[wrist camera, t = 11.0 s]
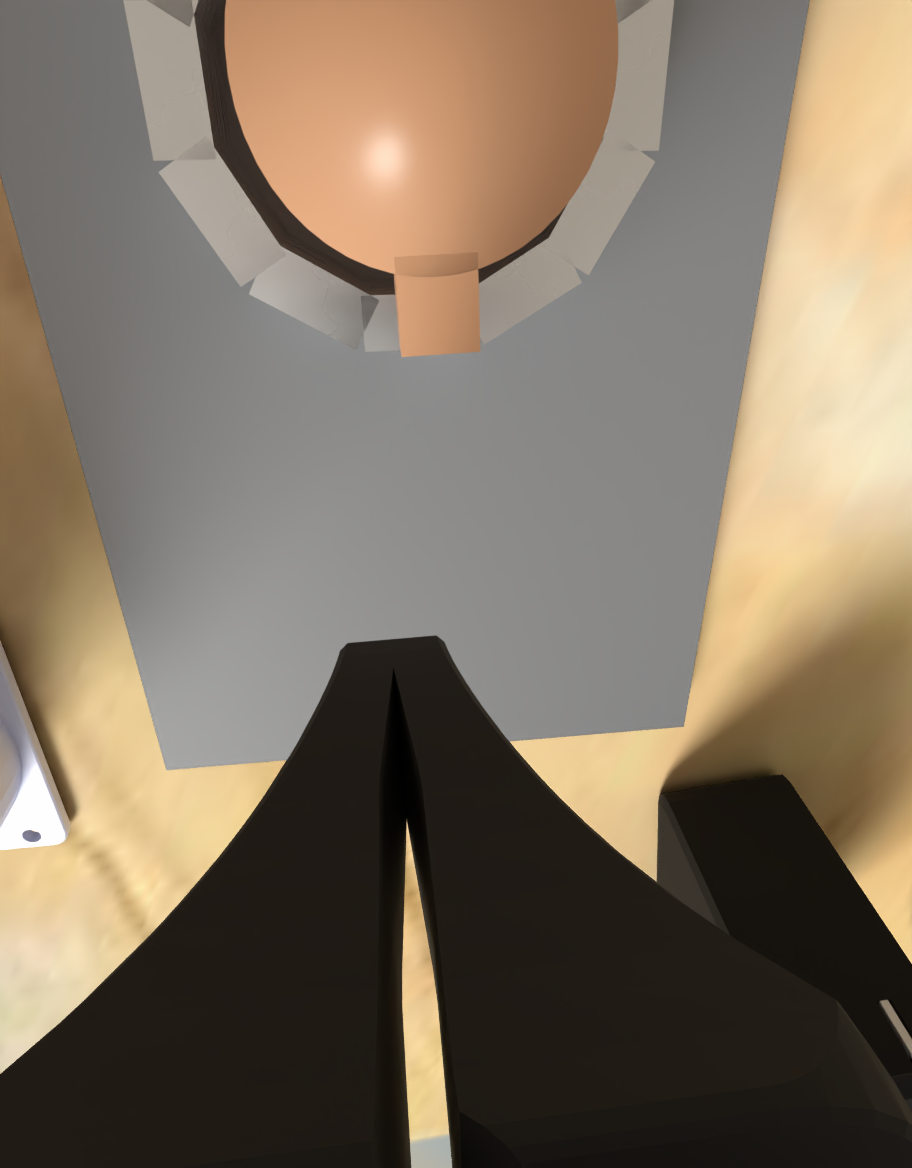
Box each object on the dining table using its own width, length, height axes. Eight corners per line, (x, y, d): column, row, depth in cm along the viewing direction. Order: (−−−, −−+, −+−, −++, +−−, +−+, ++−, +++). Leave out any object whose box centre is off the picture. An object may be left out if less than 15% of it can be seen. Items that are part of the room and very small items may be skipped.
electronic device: (652, 963, 30) (768, 1290, 22) (655, 781, 25) (808, 1114, 16) (755, 945, 30) (910, 1263, 22) (779, 761, 25) (994, 1080, 17)
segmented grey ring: (209, 335, 16) (190, 358, 14) (109, -243, 12) (65, -311, 10) (610, 320, 16) (639, 340, 15) (655, -230, 12) (704, -293, 10)
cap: (298, 305, 16) (274, 365, 11) (232, -172, 12) (160, -349, 8) (538, 290, 16) (602, 343, 12) (544, -178, 12) (640, -350, 8)
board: (174, 746, 22) (166, 770, 21) (-128, -385, 11) (-168, -429, 10) (671, 705, 23) (683, 726, 23) (841, -350, 12) (876, -386, 12)
